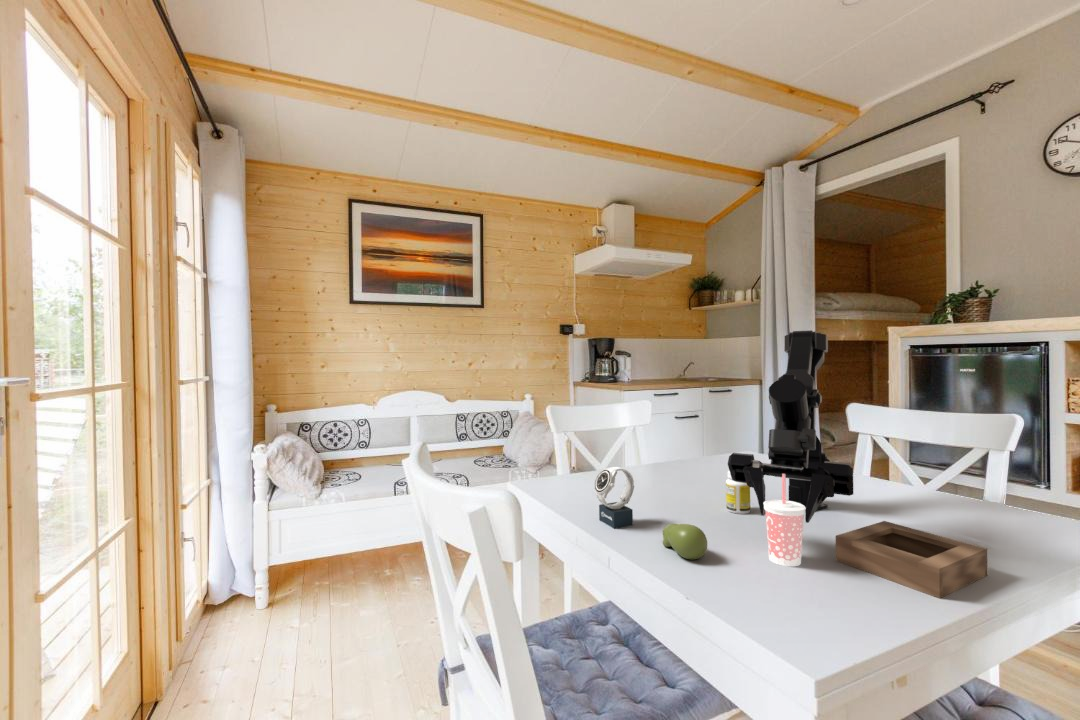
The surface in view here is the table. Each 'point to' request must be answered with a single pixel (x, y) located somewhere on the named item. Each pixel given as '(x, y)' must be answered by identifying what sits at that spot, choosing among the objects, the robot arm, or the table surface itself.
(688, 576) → the table surface
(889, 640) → the table surface
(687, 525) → the pear
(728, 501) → the supplement bottle
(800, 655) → the table surface
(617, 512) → the watch
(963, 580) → the walnut box
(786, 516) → the beverage cup
